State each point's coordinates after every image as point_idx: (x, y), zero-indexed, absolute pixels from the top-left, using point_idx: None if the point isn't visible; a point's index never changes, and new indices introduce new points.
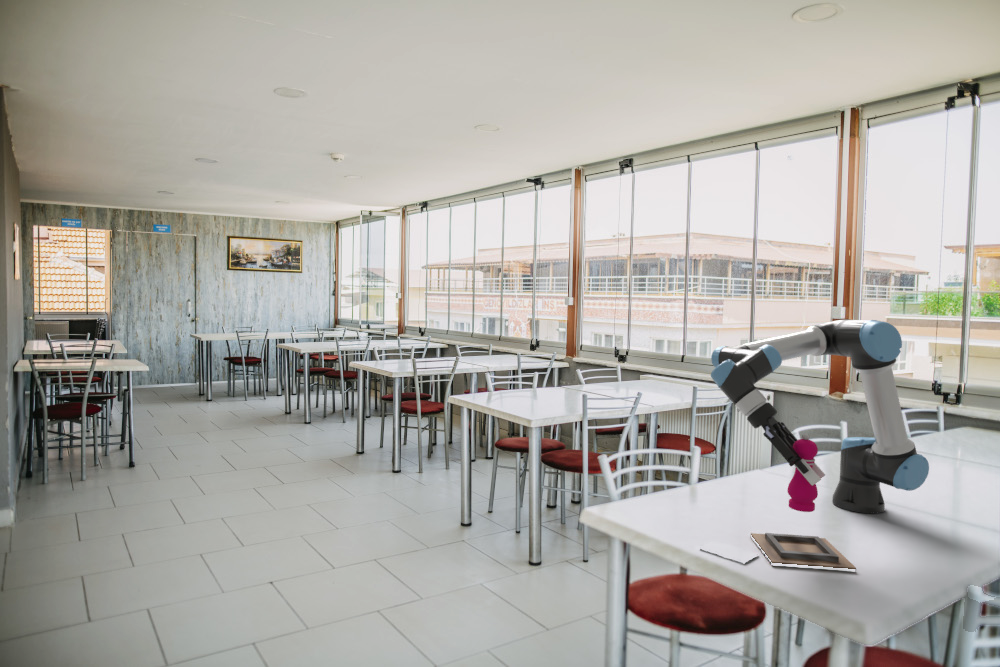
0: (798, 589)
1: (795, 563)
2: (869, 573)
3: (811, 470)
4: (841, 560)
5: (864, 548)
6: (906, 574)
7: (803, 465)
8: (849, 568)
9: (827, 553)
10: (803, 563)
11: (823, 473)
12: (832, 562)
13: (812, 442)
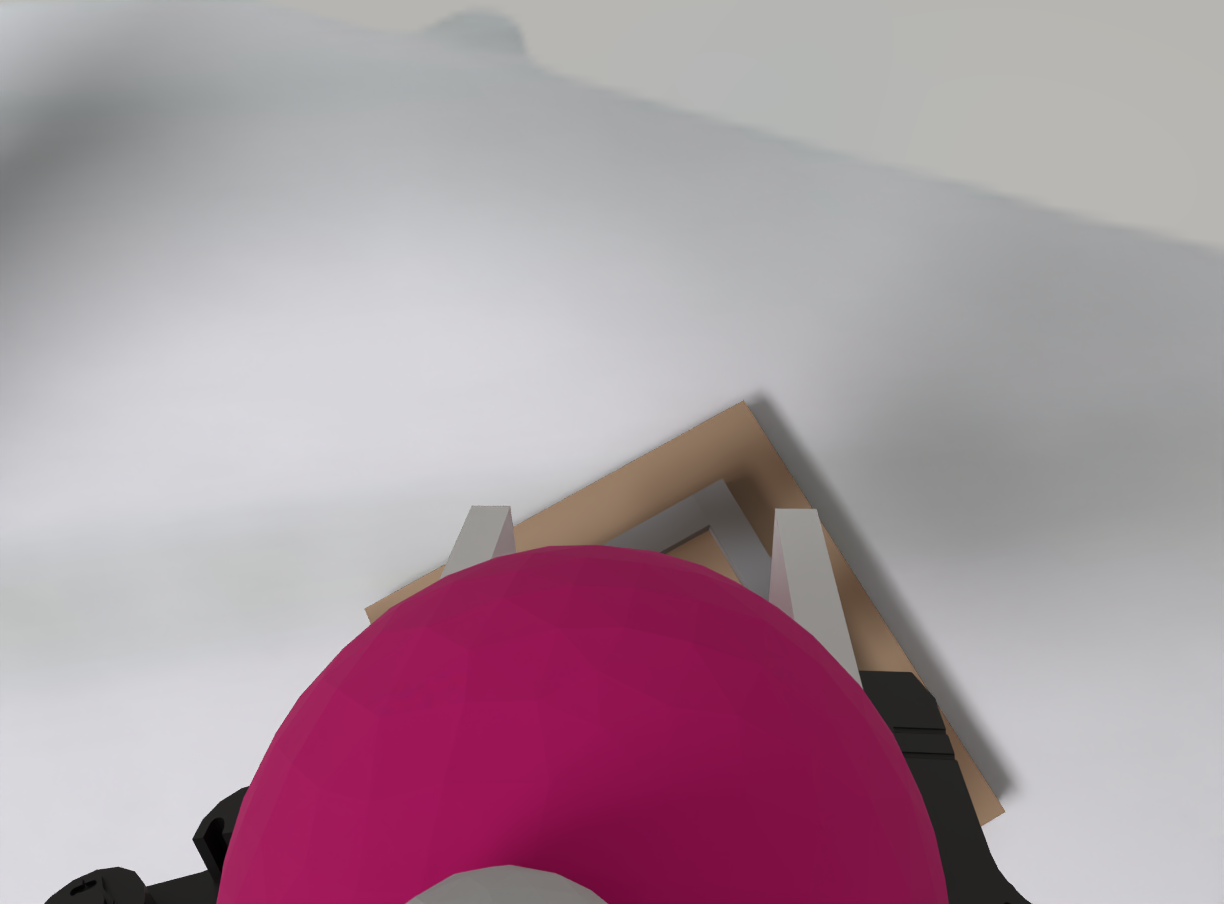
0: (1212, 608)
1: (922, 682)
2: (703, 356)
3: (845, 632)
4: (685, 476)
5: (343, 421)
6: (597, 227)
7: (939, 773)
8: (760, 429)
9: (674, 546)
10: (890, 642)
11: (496, 524)
12: (752, 510)
13: (633, 683)
